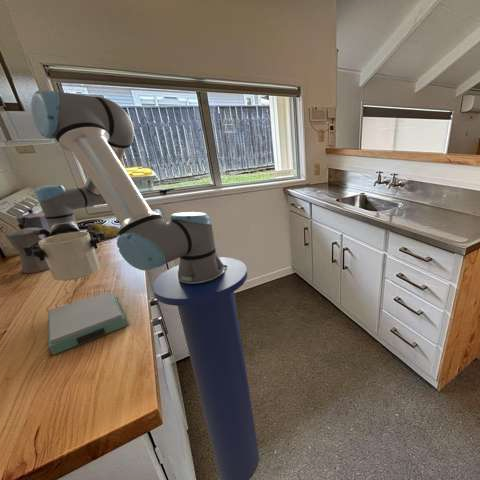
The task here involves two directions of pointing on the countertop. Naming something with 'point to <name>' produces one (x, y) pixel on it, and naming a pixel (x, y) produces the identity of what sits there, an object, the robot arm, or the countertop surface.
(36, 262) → the coffeepot
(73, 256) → the cream round pot
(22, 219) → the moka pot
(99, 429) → the countertop surface
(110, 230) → the potato
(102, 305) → the kitchen scale
